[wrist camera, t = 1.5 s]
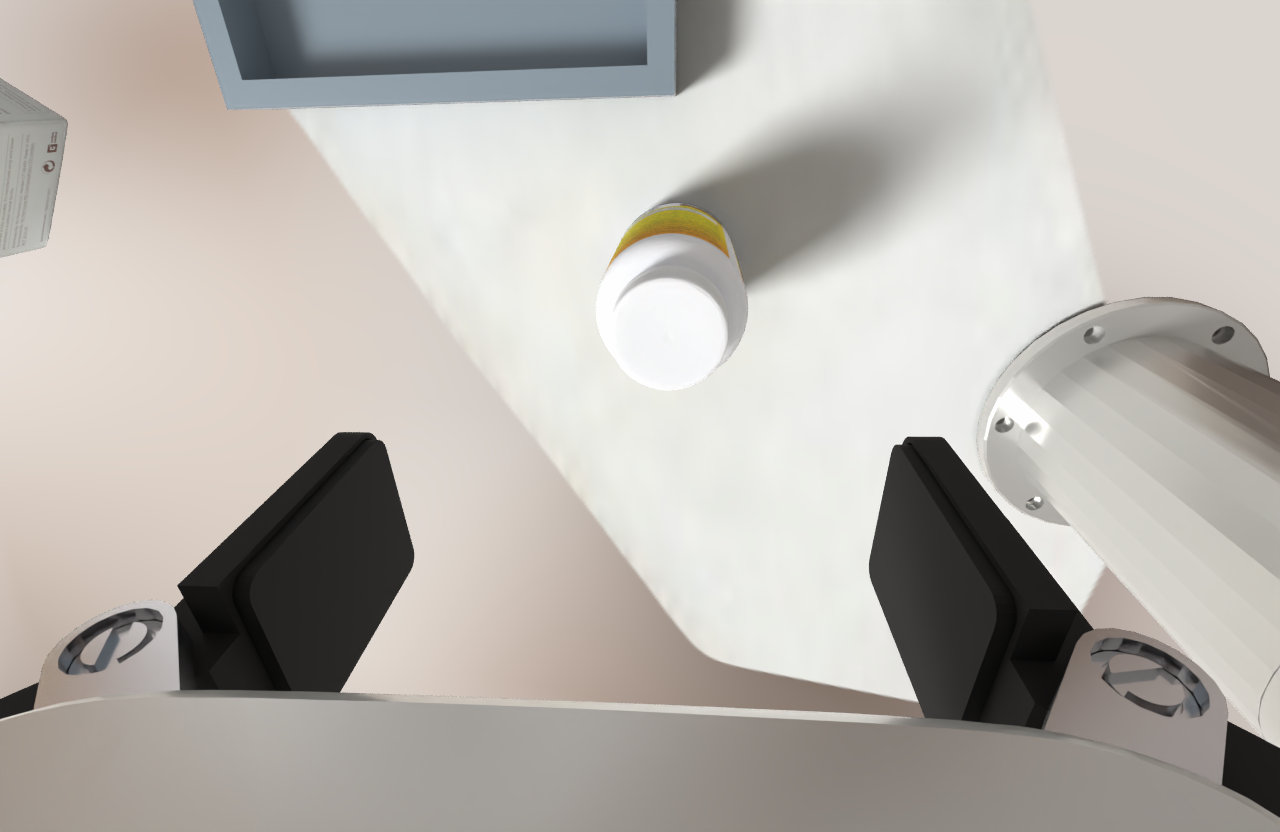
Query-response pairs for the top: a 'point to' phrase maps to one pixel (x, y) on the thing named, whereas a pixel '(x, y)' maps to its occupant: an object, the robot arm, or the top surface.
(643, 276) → the supplement bottle
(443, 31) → the tray
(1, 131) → the supplement box
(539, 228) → the top surface
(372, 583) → the robot arm
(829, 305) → the top surface
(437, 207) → the top surface
